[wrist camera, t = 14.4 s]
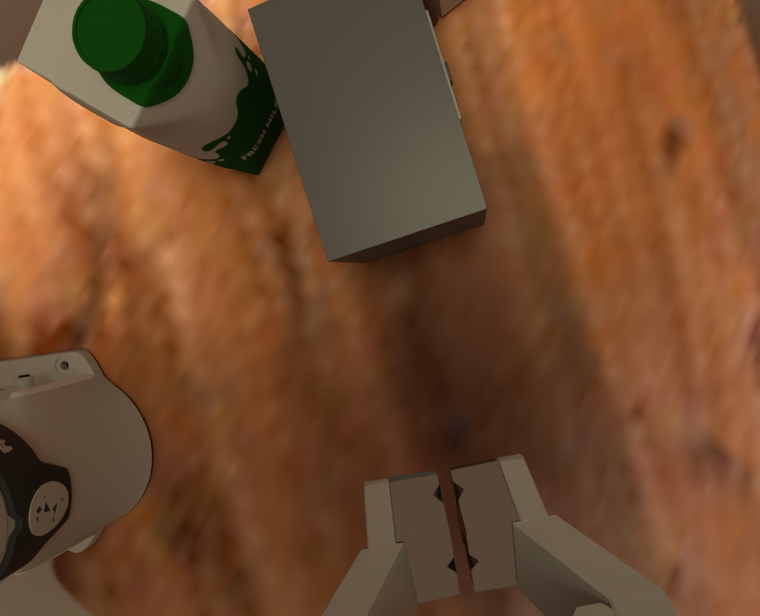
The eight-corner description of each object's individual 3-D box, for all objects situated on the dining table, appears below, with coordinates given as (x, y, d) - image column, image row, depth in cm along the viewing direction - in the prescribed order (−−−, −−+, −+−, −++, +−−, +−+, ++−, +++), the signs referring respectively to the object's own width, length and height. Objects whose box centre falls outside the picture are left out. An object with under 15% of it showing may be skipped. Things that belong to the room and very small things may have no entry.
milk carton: (262, 190, 47) (108, 135, 27) (175, 139, 48) (-34, 50, 28) (312, 95, 46) (188, -35, 26) (221, 44, 47) (35, -118, 27)
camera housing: (490, 222, 44) (495, 205, 32) (365, 262, 46) (327, 261, 34) (421, 1, 44) (401, -97, 32) (299, 52, 46) (237, -24, 34)
